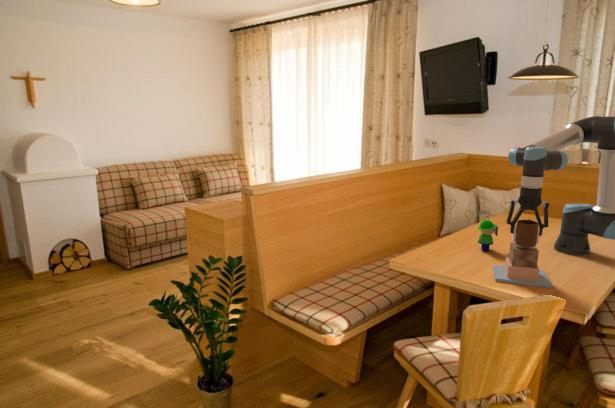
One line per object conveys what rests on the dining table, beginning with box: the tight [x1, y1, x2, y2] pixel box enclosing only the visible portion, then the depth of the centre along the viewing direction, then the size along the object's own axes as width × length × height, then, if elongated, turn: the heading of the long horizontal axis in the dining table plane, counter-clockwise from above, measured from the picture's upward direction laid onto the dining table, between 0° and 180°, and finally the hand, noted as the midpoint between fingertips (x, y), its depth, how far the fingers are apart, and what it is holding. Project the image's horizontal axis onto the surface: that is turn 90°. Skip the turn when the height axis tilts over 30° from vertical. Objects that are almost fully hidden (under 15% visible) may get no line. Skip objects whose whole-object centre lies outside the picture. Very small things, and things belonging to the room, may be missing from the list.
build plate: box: [492, 256, 553, 289], centre depth 175 cm, size 20×16×6 cm
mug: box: [514, 218, 539, 247], centre depth 171 cm, size 12×8×9 cm, turn 147°
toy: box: [477, 219, 499, 253], centre depth 208 cm, size 9×9×15 cm
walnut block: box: [508, 241, 540, 268], centre depth 174 cm, size 9×9×7 cm
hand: (524, 242), depth 172 cm, fingers open, 8 cm apart
